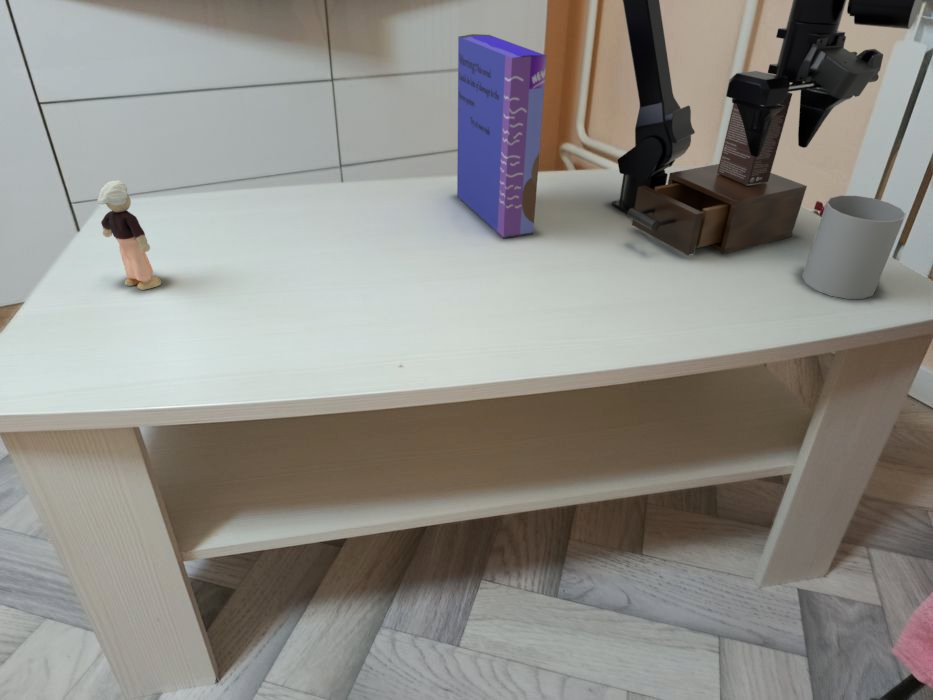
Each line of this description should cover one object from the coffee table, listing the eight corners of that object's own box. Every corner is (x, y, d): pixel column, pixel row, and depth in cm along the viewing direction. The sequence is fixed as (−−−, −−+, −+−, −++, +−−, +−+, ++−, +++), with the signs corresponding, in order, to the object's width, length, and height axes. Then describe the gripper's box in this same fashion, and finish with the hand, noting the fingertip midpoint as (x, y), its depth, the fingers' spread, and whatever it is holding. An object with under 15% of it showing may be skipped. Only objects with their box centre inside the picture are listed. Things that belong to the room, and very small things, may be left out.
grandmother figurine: (176, 280, 82) (151, 180, 75) (155, 294, 79) (126, 191, 72) (126, 270, 84) (97, 172, 77) (103, 283, 81) (70, 182, 74)
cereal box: (533, 233, 95) (546, 53, 82) (503, 238, 94) (512, 56, 81) (484, 193, 109) (489, 33, 96) (457, 197, 107) (458, 34, 94)
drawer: (663, 261, 86) (671, 219, 83) (608, 230, 95) (614, 191, 92) (754, 238, 93) (765, 198, 90) (695, 211, 101) (703, 173, 98)
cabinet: (723, 254, 91) (736, 201, 86) (660, 222, 100) (669, 172, 96) (791, 236, 96) (807, 185, 92) (725, 207, 105) (737, 160, 101)
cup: (883, 302, 80) (915, 224, 74) (811, 295, 81) (837, 218, 76) (863, 271, 87) (891, 198, 81) (796, 265, 88) (820, 192, 83)
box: (770, 182, 93) (794, 92, 86) (745, 187, 91) (769, 95, 84) (738, 169, 97) (759, 83, 91) (714, 173, 96) (734, 85, 89)
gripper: (820, 35, 70) (780, 179, 78) (926, 25, 77) (879, 158, 86) (738, 22, 78) (710, 154, 87) (841, 14, 86) (806, 137, 94)
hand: (779, 151), depth 88 cm, fingers open, 9 cm apart
